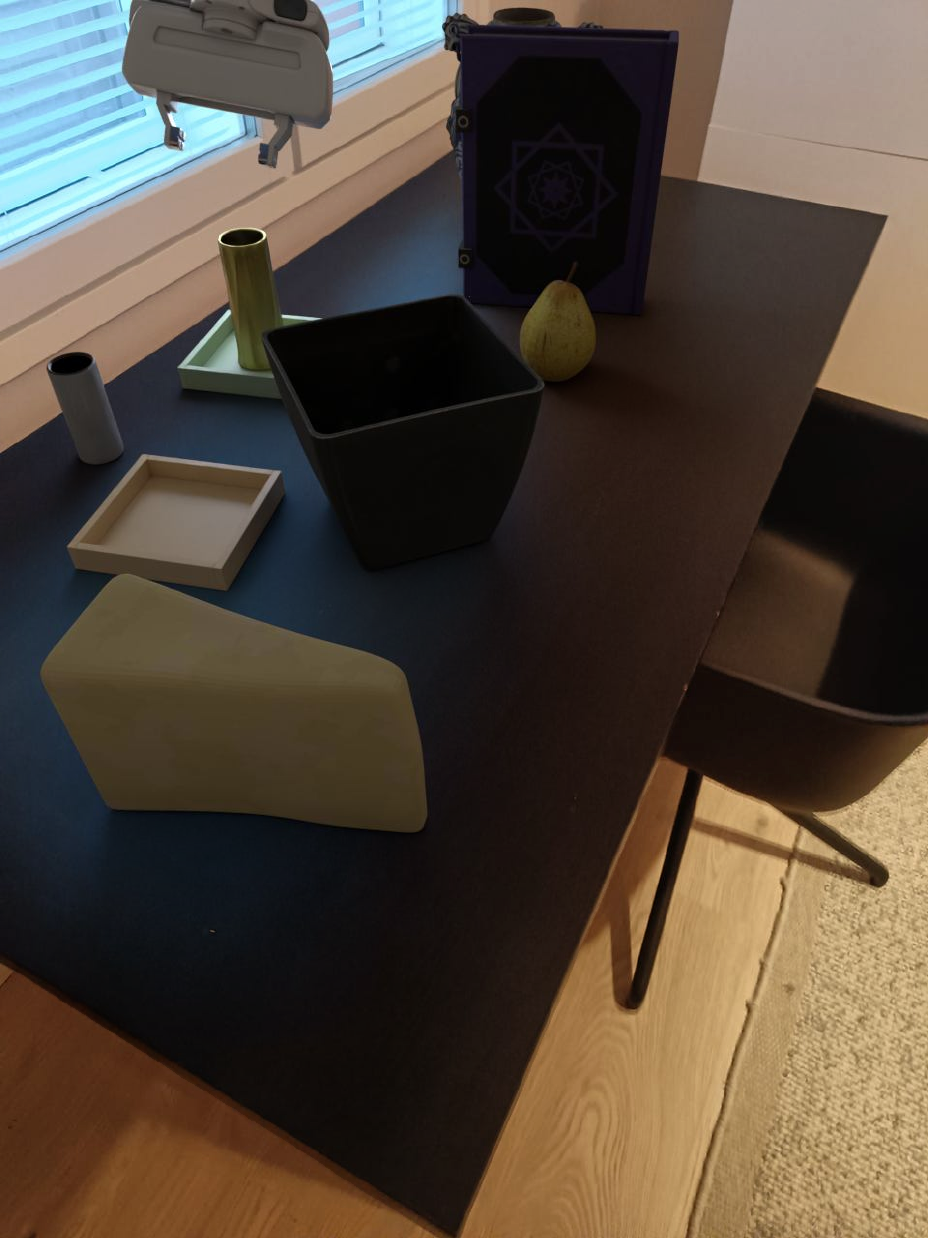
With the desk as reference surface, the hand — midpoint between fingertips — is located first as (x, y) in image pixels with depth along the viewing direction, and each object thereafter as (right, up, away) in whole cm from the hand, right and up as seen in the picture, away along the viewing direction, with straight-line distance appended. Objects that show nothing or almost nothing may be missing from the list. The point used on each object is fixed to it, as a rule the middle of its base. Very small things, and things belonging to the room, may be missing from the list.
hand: (220, 156), depth 89 cm
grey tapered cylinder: (-14, -29, +4) cm, 32 cm away
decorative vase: (+32, +10, +43) cm, 54 cm away
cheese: (+11, -58, -26) cm, 65 cm away
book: (+36, -4, +28) cm, 46 cm away
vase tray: (+1, -16, +17) cm, 23 cm away
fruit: (+35, -17, +15) cm, 42 cm away
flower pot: (+19, -37, -4) cm, 41 cm away
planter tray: (-2, -38, -5) cm, 38 cm away
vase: (+1, -15, +17) cm, 23 cm away
